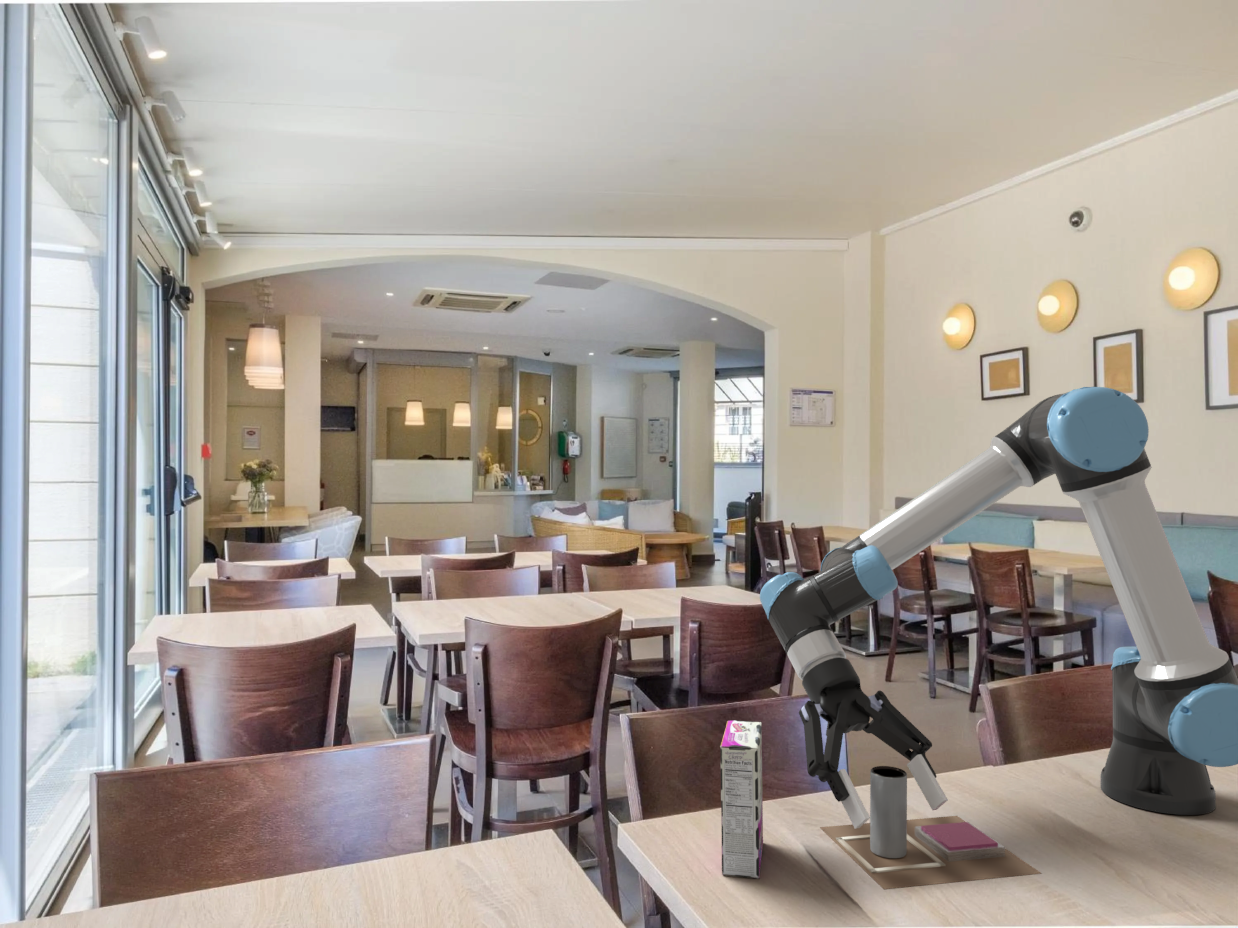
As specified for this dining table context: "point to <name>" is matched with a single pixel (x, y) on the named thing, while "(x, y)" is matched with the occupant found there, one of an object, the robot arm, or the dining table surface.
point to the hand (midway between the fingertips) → (902, 814)
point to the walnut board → (921, 859)
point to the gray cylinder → (888, 811)
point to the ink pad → (959, 841)
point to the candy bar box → (741, 799)
